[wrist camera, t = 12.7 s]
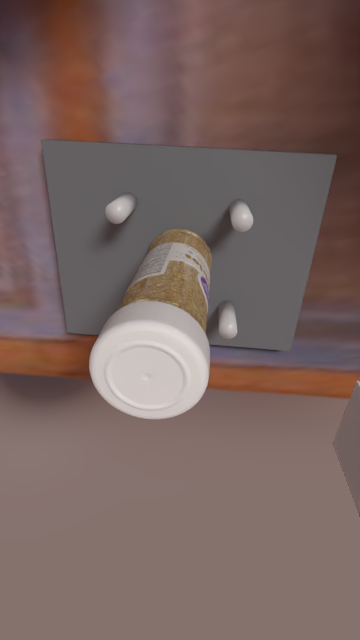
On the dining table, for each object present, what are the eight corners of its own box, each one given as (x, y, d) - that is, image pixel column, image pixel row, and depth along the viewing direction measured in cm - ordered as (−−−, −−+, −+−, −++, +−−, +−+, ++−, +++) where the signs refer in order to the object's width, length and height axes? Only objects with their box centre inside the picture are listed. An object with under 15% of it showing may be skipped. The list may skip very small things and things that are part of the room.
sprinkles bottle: (223, 270, 24) (231, 401, 13) (168, 298, 26) (130, 438, 14) (191, 213, 23) (167, 303, 11) (134, 246, 24) (60, 356, 12)
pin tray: (72, 325, 29) (49, 357, 25) (49, 139, 22) (12, 141, 18) (287, 342, 28) (300, 379, 24) (331, 153, 21) (358, 159, 17)
